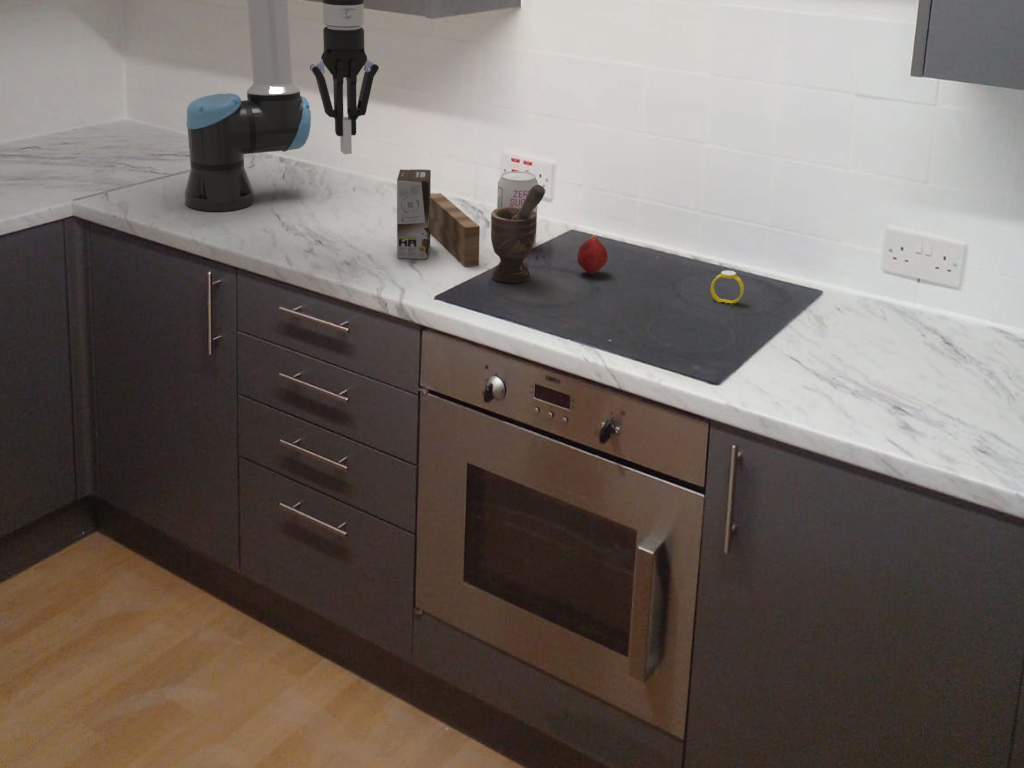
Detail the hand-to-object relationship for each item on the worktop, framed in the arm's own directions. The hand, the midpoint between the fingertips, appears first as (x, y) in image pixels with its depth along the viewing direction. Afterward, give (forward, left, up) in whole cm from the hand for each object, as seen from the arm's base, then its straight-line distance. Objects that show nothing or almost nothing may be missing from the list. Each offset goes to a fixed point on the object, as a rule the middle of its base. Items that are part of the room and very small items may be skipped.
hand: (346, 152), depth 236 cm
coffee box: (+1, +13, -21) cm, 25 cm away
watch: (+44, +61, -21) cm, 78 cm away
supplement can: (+3, +35, -21) cm, 41 cm away
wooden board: (0, +22, -21) cm, 30 cm away
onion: (+23, +43, -21) cm, 53 cm away
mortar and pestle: (+22, +28, -21) cm, 42 cm away
